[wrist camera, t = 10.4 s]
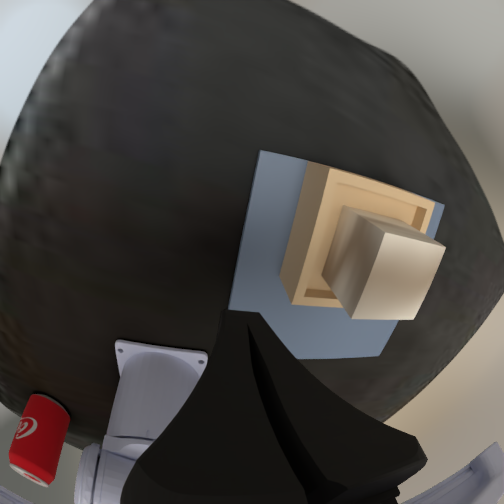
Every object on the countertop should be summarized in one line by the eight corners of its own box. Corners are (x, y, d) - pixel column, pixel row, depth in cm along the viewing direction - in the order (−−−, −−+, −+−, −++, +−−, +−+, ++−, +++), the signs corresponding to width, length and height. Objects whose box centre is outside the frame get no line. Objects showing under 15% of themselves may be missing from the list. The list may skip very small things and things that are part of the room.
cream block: (377, 281, 17) (413, 319, 13) (321, 275, 17) (350, 318, 13) (400, 219, 16) (445, 247, 12) (342, 204, 15) (385, 232, 11)
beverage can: (25, 385, 22) (-4, 455, 12) (61, 396, 23) (36, 476, 13) (43, 412, 25) (22, 477, 14) (77, 422, 26) (60, 494, 15)
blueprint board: (376, 351, 25) (394, 379, 21) (220, 350, 22) (222, 388, 18) (440, 203, 19) (472, 218, 15) (259, 149, 16) (272, 154, 12)
